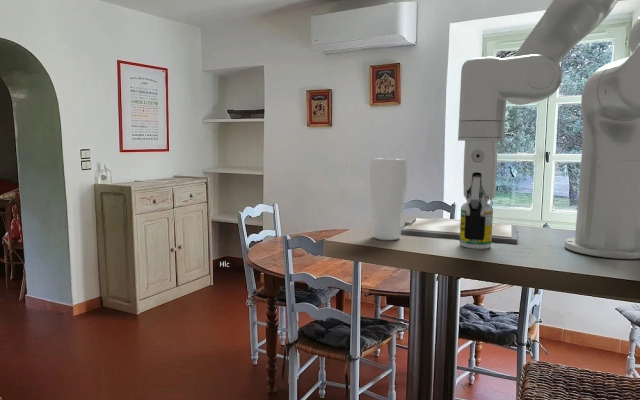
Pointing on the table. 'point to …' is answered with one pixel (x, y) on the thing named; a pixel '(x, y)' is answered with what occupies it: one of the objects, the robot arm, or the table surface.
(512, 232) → the notepad
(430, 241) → the table surface
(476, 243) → the supplement bottle
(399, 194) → the drinking glass
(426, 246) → the table surface
